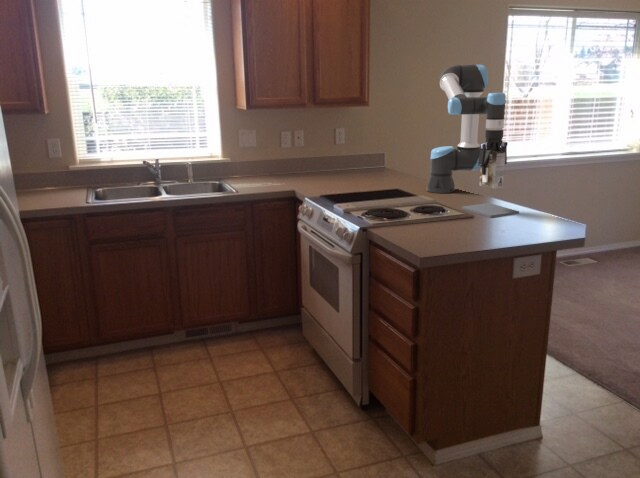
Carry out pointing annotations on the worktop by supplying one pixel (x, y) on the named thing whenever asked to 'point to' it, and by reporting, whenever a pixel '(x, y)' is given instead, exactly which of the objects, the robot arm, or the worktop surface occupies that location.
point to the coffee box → (494, 170)
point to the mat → (490, 210)
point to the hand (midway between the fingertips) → (491, 181)
